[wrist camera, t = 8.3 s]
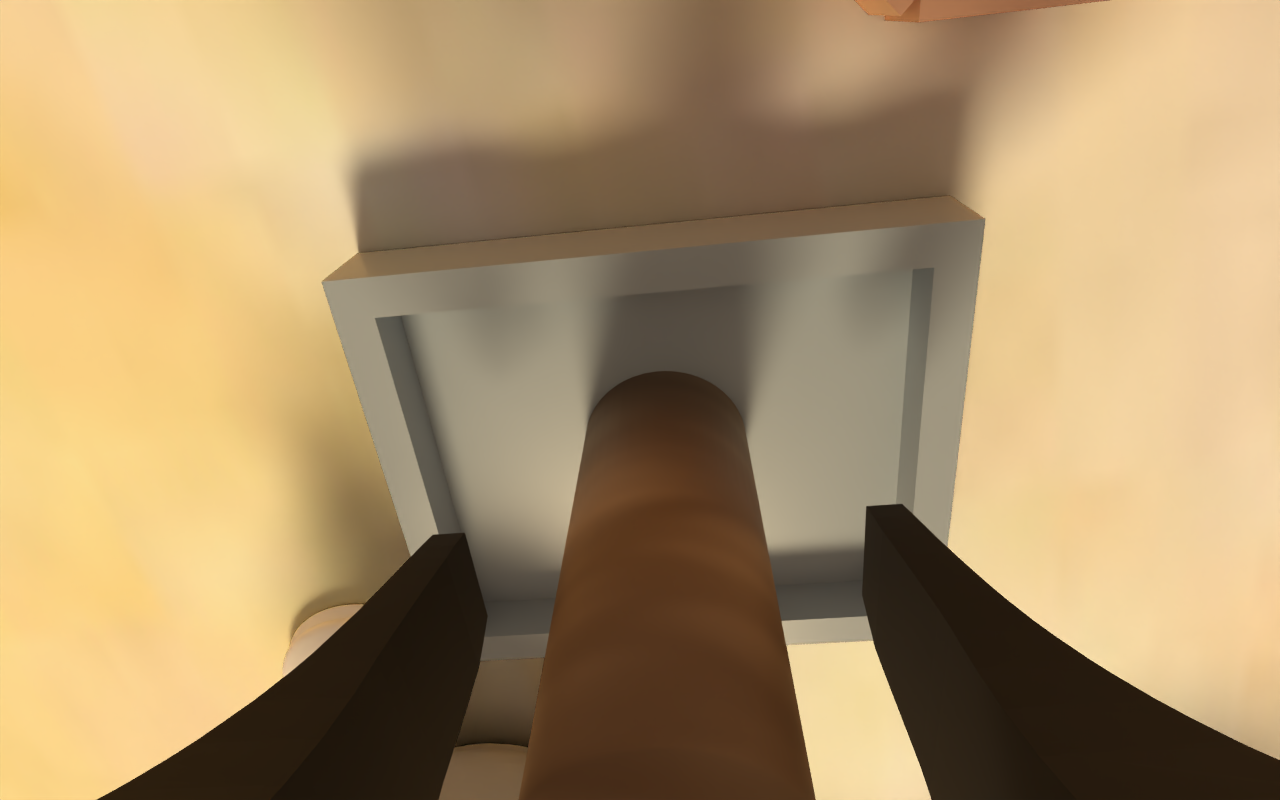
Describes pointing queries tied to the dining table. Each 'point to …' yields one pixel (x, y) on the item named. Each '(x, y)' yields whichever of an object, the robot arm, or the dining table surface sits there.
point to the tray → (682, 342)
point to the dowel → (666, 616)
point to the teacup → (485, 772)
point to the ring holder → (953, 8)
